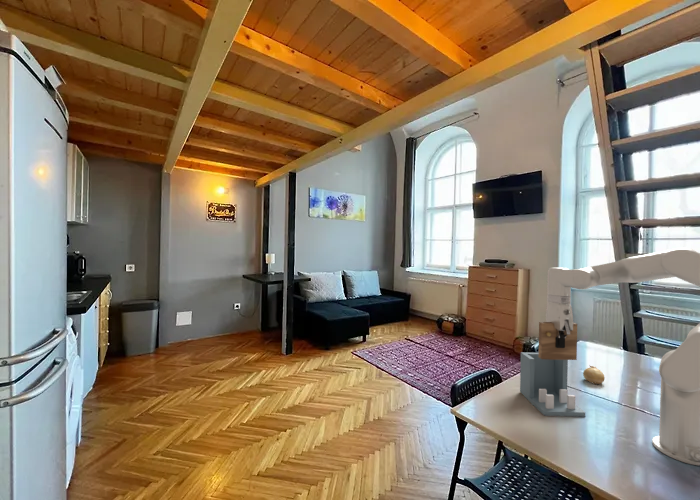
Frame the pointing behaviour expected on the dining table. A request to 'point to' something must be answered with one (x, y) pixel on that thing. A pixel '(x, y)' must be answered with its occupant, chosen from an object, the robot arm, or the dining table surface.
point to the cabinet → (547, 385)
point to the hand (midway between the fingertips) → (557, 345)
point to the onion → (593, 375)
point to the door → (549, 343)
